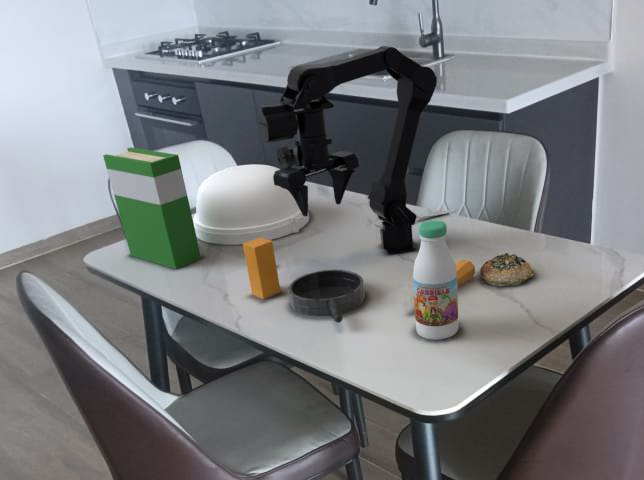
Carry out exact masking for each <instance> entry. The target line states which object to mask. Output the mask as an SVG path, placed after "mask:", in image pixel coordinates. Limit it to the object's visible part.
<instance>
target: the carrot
mask: <svg viewBox="0 0 644 480" xmlns="http://www.w3.org/2000/svg"><path fill="white" fill-rule="evenodd" d="M455 266H456V271H457V288H459V287H461V286H462V285H464V284H466V283H467V282H469V281H470V280H471V279H472V278H473V277H474V276H475V274H476V266H475V265H474V264H473V262H472V261H471V260H469V259H462V260H461V259H460V260H459V261H458V262H457V263H455ZM413 311H415V308H414V310H413Z"/></svg>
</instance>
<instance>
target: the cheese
mask: <svg viewBox="0 0 644 480" xmlns="http://www.w3.org/2000/svg"><path fill="white" fill-rule="evenodd" d="M242 248H243V253H244V259H245V263H246V268H247V273H248V280H249V285H250V291H251V295H252V296H254V297H257V298H260V299H262V300H266V299H268V298H271V297H272V296H275V295H277V294H279V293H281V286H280V280H279V275H278V269H277V262H276V256H275V250H274V249H275V248H274V243H273V240H267V239H264V238H261V237H260V238H257V239H254V240H251V241H249V242H246V243H243V244H242Z"/></svg>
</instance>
